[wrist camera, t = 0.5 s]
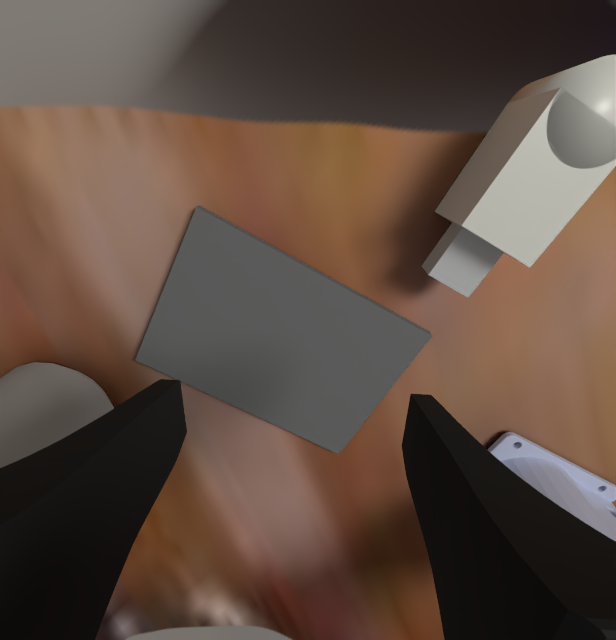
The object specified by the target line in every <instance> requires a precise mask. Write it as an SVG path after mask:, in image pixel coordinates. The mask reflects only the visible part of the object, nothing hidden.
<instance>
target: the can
mask: <svg viewBox="0 0 616 640" xmlns="http://www.w3.org/2000/svg"><path fill="white" fill-rule="evenodd" d="M112 409H114V407H113V406H112V404H111V402H110V400H109V398H108V397H107V395H106V393H105V392H104V390H103V389H102V388H101V387H100V386H99V385H98V384H97V383H96V382H95V381H94V380H93V379H91V378H89V377H88V376H86V375H84V374H82V373H81V372H79V371H76V370H73V369H70V368H67V367H63V366H60V365H57V364H54V363H39V362H33V363H29V364H25V365H21V366H17V367H16V368H14V369H13V370H12V371H10V372H9V373H7V374H6V375H4V376H3V377H1V378H0V468H2V467H4V466H6V465H9V464H11V463H13V462H16V461H18V460H20V459H22V458H25V457H27V456H29V455H31V454H33V453H35V452H37V451H39V450H41V449H43V448H45V447H47V446H49V445H51V444H53V443H55V442H57V441H59V440H61V439H63V438H65V437H66V436H68V435H70V434H72V433H74V432H75V431H77V430H79V429H80V428H82V427H84V426H86V425H87V424H89V423H91V422H92V421H94V420H96V419H98V418H99V417H101V416H103V415H104V414H106V413H108V412H109V411H111V410H112Z"/></svg>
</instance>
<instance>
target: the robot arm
mask: <svg viewBox="0 0 616 640" xmlns="http://www.w3.org/2000/svg"><path fill="white" fill-rule="evenodd" d="M186 433H187V429H186V422H185V414H184V407H183V399H182V392H181V384H180V380H164V379H161V380H159V381H157V382H155V383H154V384H152V385H150V386H149V387H147V388H145V389H144V390H142V391H141V392H139V393H138V394H136V395H134V396H133V397H131V398H130V399H128V400H127V401H125V402H123V403H122V404H120V405H119V406H117V407H116V408H114V409H112V410H111V411H109V412H108V413H106V414H104V415H103V416H101V417H99V418H98V419H96V420H94V421H92V422H91V423H89V424H87V425H86V426H84V427H82V428H80V429H79V430H77V431H75V432H74V433H72V434H70V435H68V436H66V437H65V438H63V439H61V440H59V441H57V442H55V443H53V444H51V445H49V446H47V447H45V448H43V449H41V450H39V451H37V452H35V453H33V454H31V455H29V456H27V457H25V458H22V459H20V460H18V461H16V462H13V463H11V464H9V465H6V466H4V467H2V468H0V640H95V638H96V635H97V632H98V630H99V627H100V624H101V622H102V619H103V616H104V614H105V611H106V609H107V606H108V604H109V601H110V599H111V596H112V594H113V591H114V588H115V586H116V583H117V581H118V578H119V576H120V574H121V571H122V569H123V566H124V564H125V562H126V559H127V557H128V555H129V552H130V550H131V547H132V545H133V543H134V541H135V539H136V537H137V535H138V533H139V531H140V529H141V527H142V525H143V523H144V521H145V519H146V517H147V515H148V514H149V512H150V510H151V508H152V506H153V504H154V502H155V500H156V499H157V497H158V495H159V493H160V491H161V489H162V487H163V485H164V484H165V482H166V480H167V478H168V476H169V474H170V472H171V470H172V468H173V466H174V464H175V462H176V460H177V457H178V455H179V452H180V450H181V447H182V444H183V441H184V439H185V436H186ZM516 442H518V443H516ZM514 443H516V444H514ZM402 450H403V457H404V464H405V470H406V476H407V480H408V484H409V488H410V491H411V495H412V498H413V502H414V505H415V509H416V512H417V516H418V519H419V523H420V526H421V530H422V533H423V537H424V540H425V544H426V547H427V551H428V555H429V559H430V563H431V567H432V572H433V577H434V583H435V588H436V593H437V599H438V604H439V609H440V615H441V621H442V627H443V632H444V638H445V640H616V507H615V506H614V505H613V504H612V502H613V501H614V500H616V485H614V484H612V483H610V482H608V481H606V480H604V479H602V478H600V477H598V476H597V475H595V474H593V473H591V472H589V471H587V470H585V469H583V468H581V467H579V466H577V465H575V464H573V463H571V462H570V461H568V460H566V459H564V458H562V457H560V456H558V455H556V454H554V453H552V452H550V451H548V450H546V449H544V448H542V447H541V446H539V445H537V444H535V443H533V442H531V441H529V440H527V439H525V438H523V437H521V436H519V435H517V434H515V433H513V432H507V433H504V434H503V435H502V436H501V437H500V438H499V439H498V440H497V441H496V442H495V443H494V444H492V445H491V446H490V447H489V448H488V449H486V448H485V447H484V446H483V445H481V444H480V443H479V442H478V441H477V440H476V439H475V438H474V437H473V436H472V435H471V434H470V433H469V432H468V431H467V430H466V429H465V428H464V427H462V426H461V425H460V424H459V423H458V422H457V421H456V420H455V419H454V418H453V417H452V416H451V414H450V413H449V412H448V411H447V410H446V409H445V408H444V407H443V406H442V405H441V404H440V403H439V402H438V401H437V400H436V399H435V398H434V397H433V396H432V395H422V394H411V396H410V402H409V407H408V413H407V419H406V425H405V430H404V436H403V442H402Z"/></svg>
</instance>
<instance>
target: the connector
mask: <svg viewBox="0 0 616 640" xmlns="http://www.w3.org/2000/svg"><path fill="white" fill-rule="evenodd" d="M615 166H616V55H608V56H604V57H601V58H598V59H595V60H592V61H589V62H587V63H584V64H581V65H578V66H576V67H573V68H571V69H568V70H565V71H562V72H559V73H557V74H554V75H551V76H548V77H546V78H543V79H540V80H537V81H535V82H532V83H530V84H528V85H526V86H525V87H523V88H522V89H520V90H519V91H518V92H517V93H516V94H515V95H514V96H513V97H512V98H511V100H510V101H509V102H508V104H507V105H506V106H505V108H504V109H503V111H502V112H501V114H500V115H499V117H498V118H497V120H496V121H495V123H494V124H493V126H492V127H491V128H490V130H489V131H488V133H487V134H486V136H485V137H484V139H483V140H482V142H481V143H480V145H479V146H478V148H477V149H476V151H475V152H474V154H473V155H472V157H471V158H470V160H469V161H468V162H467V164H466V165H465V167H464V168H463V170H462V171H461V173H460V174H459V176H458V177H457V179H456V180H455V182H454V183H453V185H452V186H451V188H450V189H449V191H448V192H447V194H446V195H445V196H444V198H443V199H442V201H441V202H440V204H439V205H438V207H437V208H436V210H435V211H434V212H436V213H437V214H439V215H441V216H442V217H444V218H446V219H447V220H449V221H451V222H452V223H451V225H450V226H449V228H448V229H447V231H446V232H445V233H444V235H443V236H442V238H441V239H440V240H439V242H438V243H437V245H436V246H435V248H434V249H433V250H432V252H431V253H430V255H429V256H428V257H427V259H426V260H425V262H424V263H423V265H422V266H421V267H422V268H423V269H424V270H425V271H426V272H427V274H428V275H430V276H431V277H433V278H435V279H437V280H438V281H440V282H442V283H444V284H445V285H447V286H449V287H450V288H452V289H454V290H456V291H457V292H459V293H461V294H463V295H464V296H466V297H469V296H470V295H471V293H472V292H473V291H474V290H475V288H476V287H477V286H478V285H479V283H480V282H481V281H482V280H483V278H484V277H485V276H486V275H487V273H488V272H489V271H490V270H491V268H492V267H493V266H494V264H495V263H496V262H497V261H498V259H499V258H500V257H501V256H502V254H503V253H504V254H506V255H508V256H510V257H512V258H513V259H515V260H517V261H519V262H521V263H523V264H524V265H526V266H528V267H531V266H532V264H533V263H534V262H535V261H536V260H537V259H538V257H539V256H540V255H541V254H542V253H543V251H544V250H545V249H546V248H547V247H548V245H549V244H550V243H551V242H552V241H553V240H554V238H555V237H556V236H557V235H558V234H559V232H560V231H561V230H562V229H563V228H564V226H565V225H566V224H567V223H568V222H569V221H570V219H571V218H572V217H573V216H574V215H575V213H576V212H577V211H578V210H579V209H580V207H581V206H582V205H583V204H584V203H585V201H586V200H587V199H588V198H589V197H590V196H591V194H592V193H593V192H594V191H595V190H596V188H597V187H598V186H599V185H600V184H601V182H602V181H603V180H604V179H605V178H606V177H607V175H608V174H609V173H610V172H611V171H612V169H613V168H614V167H615Z"/></svg>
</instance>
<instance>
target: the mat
mask: <svg viewBox="0 0 616 640" xmlns="http://www.w3.org/2000/svg"><path fill="white" fill-rule="evenodd" d="M431 336H432V335H431V333H430V332H429V331H427V330H425V329H424V328H422V327H420V326H418V325H416V324H415V323H413V322H411V321H409V320H407V319H405V318H404V317H402V316H400V315H398V314H396V313H394V312H393V311H391V310H389V309H387V308H385V307H383V306H382V305H380V304H378V303H376V302H374V301H373V300H371V299H369V298H367V297H365V296H363V295H362V294H360V293H358V292H356V291H354V290H352V289H351V288H349V287H347V286H345V285H343V284H341V283H340V282H338V281H336V280H334V279H332V278H331V277H329V276H327V275H325V274H323V273H321V272H320V271H318V270H316V269H314V268H312V267H310V266H309V265H307V264H305V263H303V262H301V261H299V260H298V259H296V258H294V257H292V256H290V255H289V254H287V253H285V252H283V251H281V250H279V249H278V248H276V247H274V246H272V245H270V244H268V243H267V242H265V241H263V240H261V239H259V238H257V237H256V236H254V235H252V234H250V233H248V232H247V231H245V230H243V229H241V228H239V227H237V226H236V225H234V224H232V223H230V222H228V221H226V220H225V219H223V218H221V217H219V216H217V215H215V214H214V213H212V212H210V211H208V210H206V209H205V208H203V207H201V206H197V207H196V208H195V211H194V214H193V216H192V219H191V221H190V224H189V226H188V229H187V231H186V234H185V236H184V239H183V241H182V244H181V246H180V249H179V251H178V254H177V256H176V259H175V261H174V264H173V266H172V269H171V271H170V274H169V276H168V279H167V281H166V284H165V286H164V289H163V291H162V294H161V296H160V299H159V301H158V304H157V306H156V309H155V311H154V314H153V316H152V319H151V321H150V324H149V326H148V329H147V331H146V334H145V336H144V339H143V341H142V344H141V346H140V349H139V351H138V354H137V357H136V359H135V360H136V361H138V362H140V363H142V364H144V365H147V366H149V367H151V368H153V369H155V370H157V371H160V372H162V373H164V374H166V375H168V376H170V377H172V378H175V379H177V380H180V381H181V382H183V383H185V384H188V385H190V386H192V387H194V388H196V389H198V390H201V391H203V392H205V393H207V394H209V395H211V396H214V397H216V398H218V399H220V400H222V401H224V402H227V403H229V404H231V405H233V406H235V407H237V408H240V409H242V410H244V411H246V412H248V413H250V414H252V415H255V416H257V417H259V418H261V419H263V420H265V421H268V422H270V423H272V424H274V425H276V426H278V427H281V428H283V429H285V430H287V431H289V432H291V433H294V434H296V435H298V436H300V437H302V438H304V439H307V440H309V441H311V442H313V443H315V444H317V445H319V446H322V447H324V448H326V449H328V450H330V451H332V452H335V453H337V454H339V453H340V452H341V451H342V450H343V448H344V447H345V446H346V445H347V443H348V442H349V441H350V439H351V438H352V437H353V436H354V434H355V433H356V432H357V431H358V429H359V428H360V427H361V425H362V424H363V423H364V422H365V420H366V419H367V418H368V417H369V415H370V414H371V413H372V411H373V410H374V409H375V408H376V406H377V405H378V404H379V403H380V401H381V400H382V399H383V397H384V396H385V395H386V394H387V392H388V391H389V390H390V389H391V387H392V386H393V385H394V384H395V382H396V381H397V380H398V378H399V377H400V376H401V375H402V373H403V372H404V371H405V370H406V368H407V367H408V366H409V364H410V363H411V362H412V361H413V359H414V358H415V357H416V356H417V354H418V353H419V352H420V350H421V349H422V348H423V347H424V345H425V344H426V343H427V342H428V340H429V339H430V338H431Z"/></svg>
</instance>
